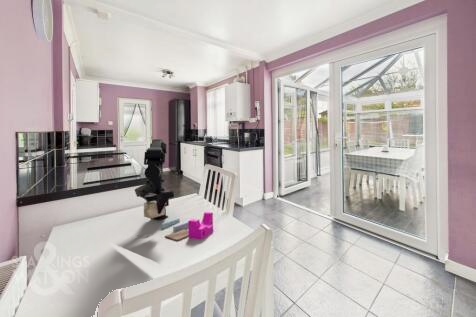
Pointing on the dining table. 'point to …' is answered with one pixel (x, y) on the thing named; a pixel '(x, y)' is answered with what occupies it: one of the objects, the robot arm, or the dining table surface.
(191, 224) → the toy block
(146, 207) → the block
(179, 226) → the channel
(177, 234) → the board
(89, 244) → the dining table surface
